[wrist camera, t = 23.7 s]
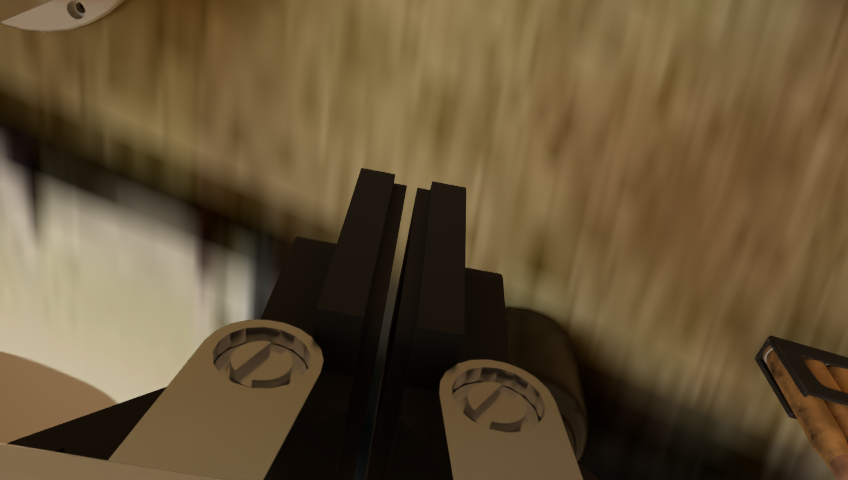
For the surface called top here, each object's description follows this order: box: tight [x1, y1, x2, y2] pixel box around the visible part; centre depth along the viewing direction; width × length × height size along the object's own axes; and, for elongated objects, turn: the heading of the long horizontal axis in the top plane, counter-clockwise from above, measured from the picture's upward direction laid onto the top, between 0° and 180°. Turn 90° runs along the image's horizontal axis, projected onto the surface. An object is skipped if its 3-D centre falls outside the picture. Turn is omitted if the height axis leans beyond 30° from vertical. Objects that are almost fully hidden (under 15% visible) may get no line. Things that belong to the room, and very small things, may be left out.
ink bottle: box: [505, 309, 590, 463], centre depth 41 cm, size 10×9×12 cm
